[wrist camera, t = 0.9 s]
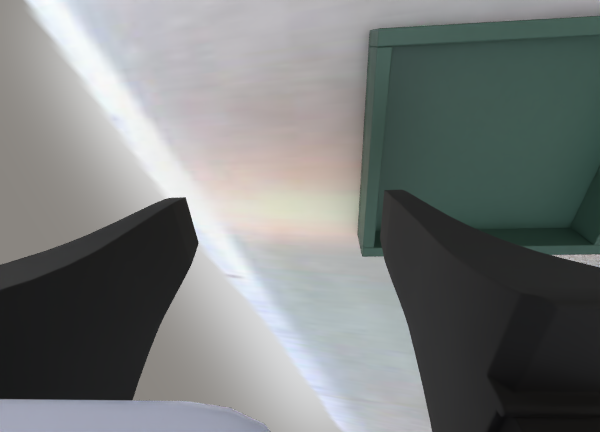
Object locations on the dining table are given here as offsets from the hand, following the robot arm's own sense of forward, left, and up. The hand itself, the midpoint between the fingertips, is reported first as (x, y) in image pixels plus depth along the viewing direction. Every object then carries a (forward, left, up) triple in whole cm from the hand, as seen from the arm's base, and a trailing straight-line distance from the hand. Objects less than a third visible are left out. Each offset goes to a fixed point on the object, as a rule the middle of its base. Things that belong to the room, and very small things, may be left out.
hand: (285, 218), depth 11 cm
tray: (0, -11, -9) cm, 14 cm away
